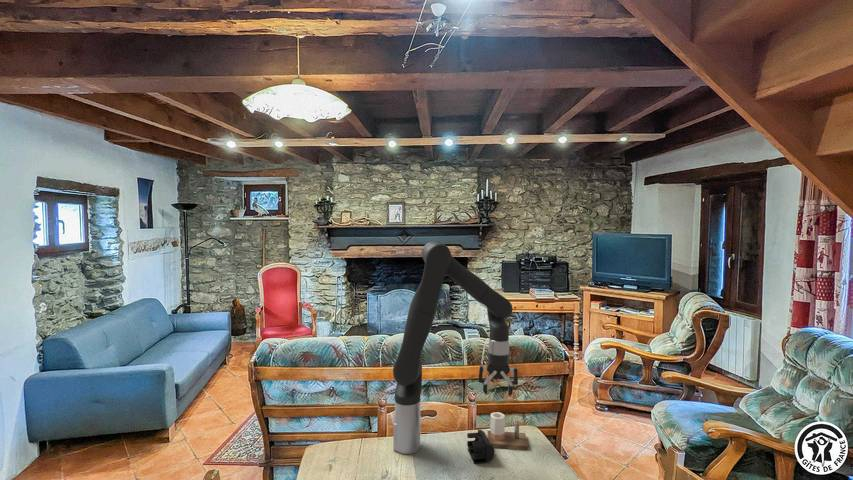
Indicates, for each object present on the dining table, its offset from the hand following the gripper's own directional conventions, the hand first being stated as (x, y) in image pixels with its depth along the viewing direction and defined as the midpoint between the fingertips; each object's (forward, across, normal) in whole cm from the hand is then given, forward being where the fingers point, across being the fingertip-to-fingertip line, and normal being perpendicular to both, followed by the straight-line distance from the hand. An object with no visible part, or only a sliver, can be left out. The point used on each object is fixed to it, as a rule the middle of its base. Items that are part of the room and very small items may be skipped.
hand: (497, 394), depth 145 cm
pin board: (+17, +4, -1) cm, 18 cm away
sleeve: (+16, 0, 0) cm, 16 cm away
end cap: (+18, -6, -11) cm, 22 cm away
